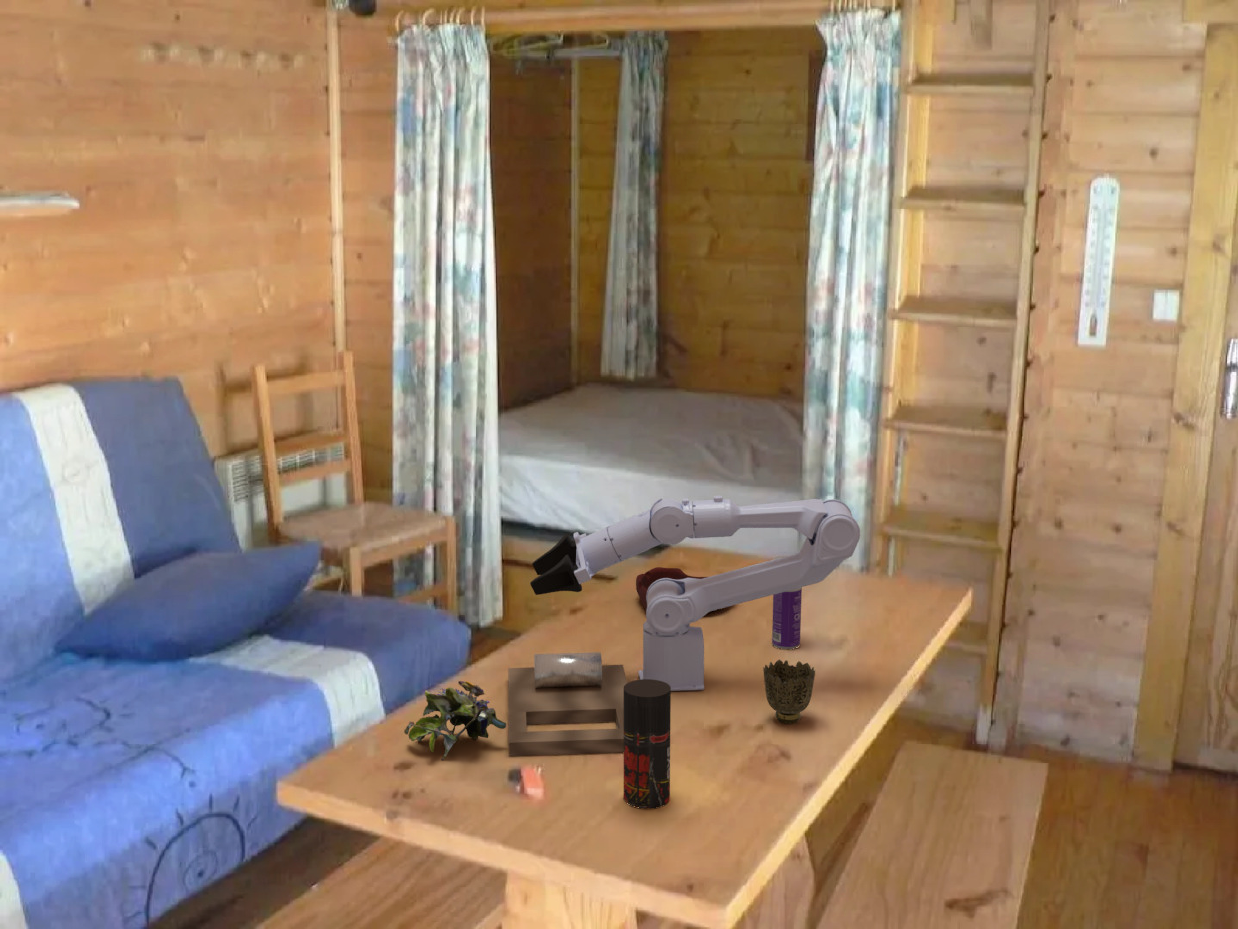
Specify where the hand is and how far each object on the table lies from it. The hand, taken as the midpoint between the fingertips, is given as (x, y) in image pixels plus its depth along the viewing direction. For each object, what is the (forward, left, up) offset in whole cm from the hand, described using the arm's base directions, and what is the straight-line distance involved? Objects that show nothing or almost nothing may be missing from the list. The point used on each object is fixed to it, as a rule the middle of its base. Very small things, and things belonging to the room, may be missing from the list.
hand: (533, 578), depth 210 cm
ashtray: (-26, -34, -17) cm, 46 cm away
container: (-42, -13, -17) cm, 47 cm away
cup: (-36, +18, -17) cm, 44 cm away
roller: (-5, +7, -12) cm, 15 cm away
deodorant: (-13, +41, -17) cm, 46 cm away
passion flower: (+12, +24, -17) cm, 32 cm away
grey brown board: (-5, +13, -17) cm, 22 cm away
